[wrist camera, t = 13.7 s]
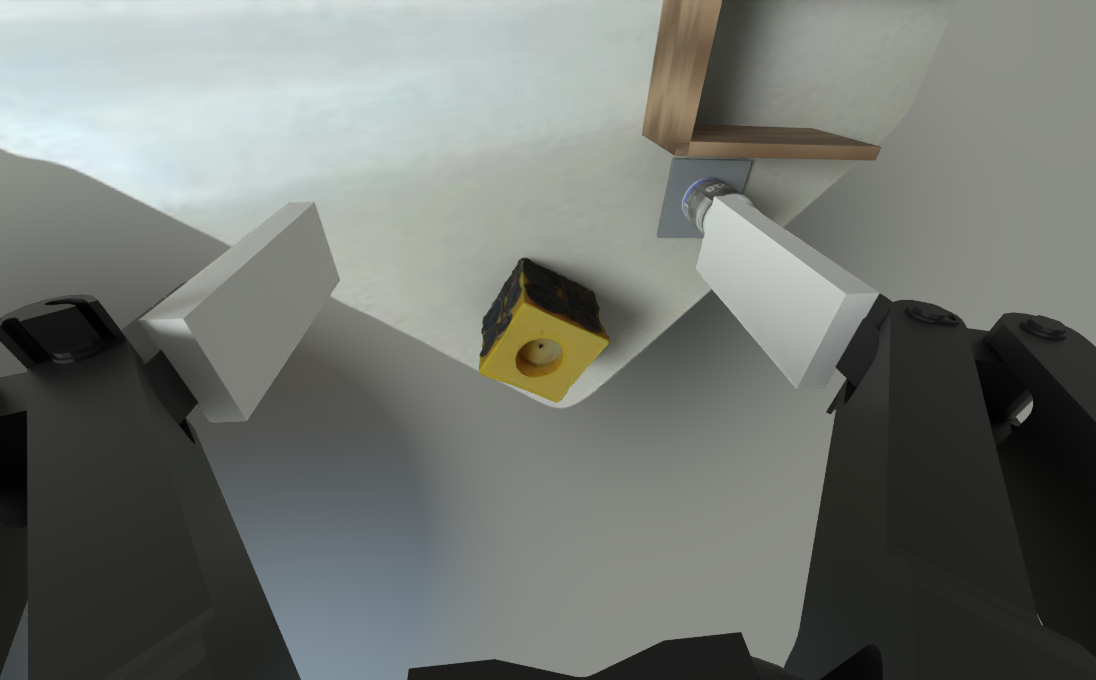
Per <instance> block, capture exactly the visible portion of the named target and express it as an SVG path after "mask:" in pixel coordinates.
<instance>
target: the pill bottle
mask: <svg viewBox="0 0 1096 680" xmlns="http://www.w3.org/2000/svg"><path fill="white" fill-rule="evenodd" d="M714 196H736V197H738V198H739V199H741V200H742V201H744V202H745V203H747V204H748V205H750V206H751V207H753V208H754V209H756V208H755V207H754V206H753V203H752V202H751V200H750V199H749V198H748V197H746V196H745V195H743V194H742V193H740V192H738V191H737V190H735V189H733V188H732V187H730V186H729V185H727V184H725V183H724V182H722V181H720V180H718V179H716V178H711V177H708V178H703V179H700V180H698V181H696V182H695V183H693V184H692V185H691V186H690V187H689V188H688V190H687V191H686V193H685V195H684V197H683V201H682V210H683V213H684V215H685V217H686V218H687V219H688V220H689V221H690V222H691V223H692V224H693V225H694V226H695V227H696V228H697V229H699V230H700V231H701V232H702V233H703V234H705V230H706V227H707V223H708V219H709V215H710V211H711V207H712V203H713V199H714ZM756 210H757V211H759V210H758V209H756ZM759 212H760V211H759Z"/></svg>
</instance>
